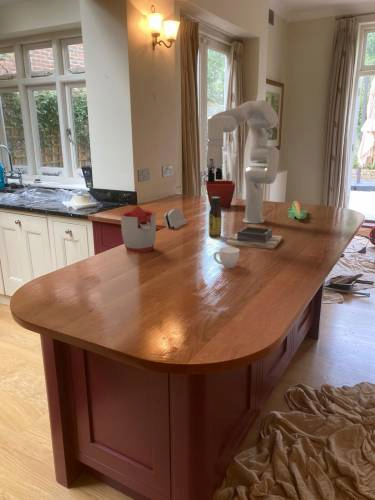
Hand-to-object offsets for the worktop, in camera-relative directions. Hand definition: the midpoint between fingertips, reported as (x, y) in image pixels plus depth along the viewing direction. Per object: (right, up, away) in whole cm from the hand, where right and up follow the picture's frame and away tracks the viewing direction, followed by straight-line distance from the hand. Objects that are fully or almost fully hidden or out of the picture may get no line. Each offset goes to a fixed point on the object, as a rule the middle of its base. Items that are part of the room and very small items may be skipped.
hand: (215, 180), depth 194 cm
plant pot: (+9, -4, +86) cm, 86 cm away
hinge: (-20, -20, +34) cm, 44 cm away
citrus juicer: (-34, -34, -13) cm, 50 cm away
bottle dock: (+19, -29, -2) cm, 35 cm away
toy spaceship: (+53, -14, +49) cm, 73 cm away
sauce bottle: (0, -27, +8) cm, 28 cm away
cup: (+2, -40, -36) cm, 54 cm away
